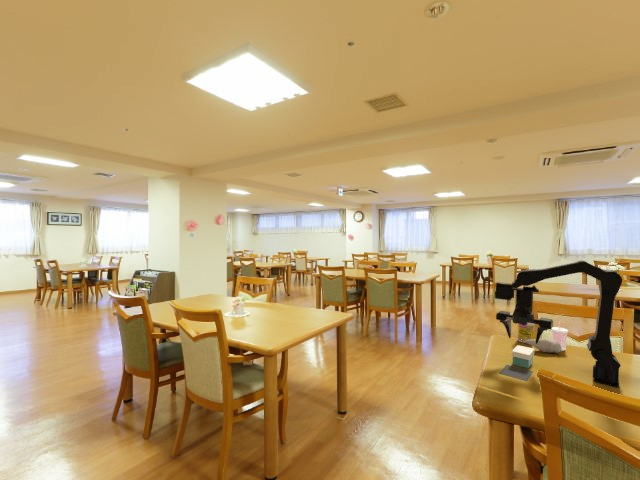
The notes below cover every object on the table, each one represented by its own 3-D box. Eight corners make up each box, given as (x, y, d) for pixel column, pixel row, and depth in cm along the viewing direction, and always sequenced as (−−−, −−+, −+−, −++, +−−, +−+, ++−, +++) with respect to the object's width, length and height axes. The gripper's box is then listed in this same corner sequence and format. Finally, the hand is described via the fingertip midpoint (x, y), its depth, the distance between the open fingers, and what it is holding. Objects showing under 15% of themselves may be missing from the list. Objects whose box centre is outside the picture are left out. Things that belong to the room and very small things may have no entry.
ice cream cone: (520, 349, 147) (558, 357, 143) (526, 344, 142) (565, 353, 138) (519, 336, 150) (556, 344, 147) (525, 331, 145) (563, 339, 142)
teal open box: (532, 363, 131) (533, 353, 131) (528, 370, 125) (528, 359, 125) (517, 359, 135) (517, 350, 135) (512, 365, 129) (512, 356, 129)
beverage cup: (553, 350, 146) (554, 319, 146) (548, 345, 152) (549, 315, 152) (569, 351, 144) (571, 320, 144) (564, 346, 150) (565, 316, 150)
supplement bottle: (516, 341, 157) (516, 315, 157) (519, 338, 162) (520, 312, 161) (532, 345, 152) (533, 317, 152) (535, 341, 157) (536, 315, 157)
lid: (534, 353, 131) (534, 348, 131) (529, 360, 125) (529, 355, 125) (517, 349, 135) (517, 345, 135) (511, 356, 129) (511, 351, 129)
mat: (533, 372, 123) (533, 371, 123) (527, 382, 115) (527, 381, 115) (506, 365, 129) (506, 364, 129) (498, 374, 121) (498, 373, 121)
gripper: (492, 301, 130) (491, 340, 130) (549, 309, 117) (547, 352, 118) (500, 297, 138) (499, 333, 139) (554, 304, 125) (552, 344, 126)
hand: (522, 340), depth 130 cm, fingers open, 9 cm apart
